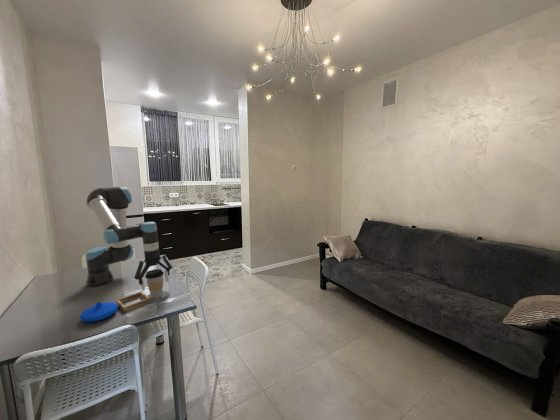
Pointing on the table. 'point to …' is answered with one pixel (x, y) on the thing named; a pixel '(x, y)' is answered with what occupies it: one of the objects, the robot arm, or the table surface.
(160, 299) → the grey round plate
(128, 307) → the wooden square frame
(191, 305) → the table surface
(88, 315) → the blue spouted lid
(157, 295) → the coffee cup
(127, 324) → the table surface
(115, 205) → the robot arm
